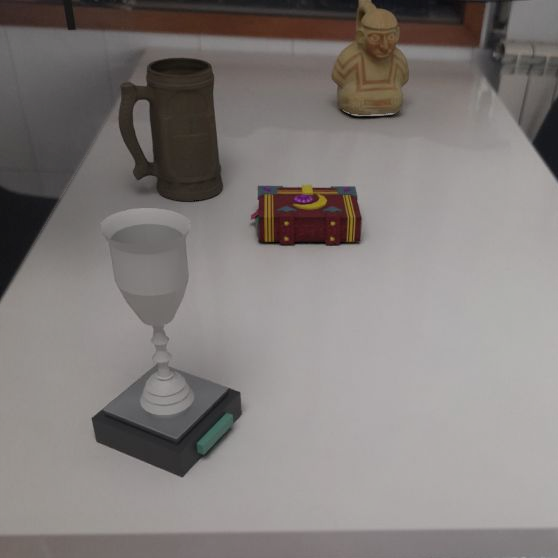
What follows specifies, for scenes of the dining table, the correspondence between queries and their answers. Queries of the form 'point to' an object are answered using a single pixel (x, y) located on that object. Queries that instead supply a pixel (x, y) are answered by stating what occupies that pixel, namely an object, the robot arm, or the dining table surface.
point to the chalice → (153, 289)
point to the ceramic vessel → (371, 65)
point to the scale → (165, 451)
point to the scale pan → (166, 425)
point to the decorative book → (308, 214)
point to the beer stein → (176, 128)
